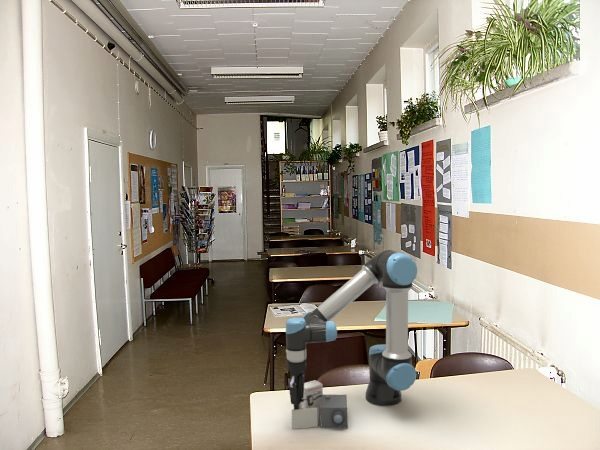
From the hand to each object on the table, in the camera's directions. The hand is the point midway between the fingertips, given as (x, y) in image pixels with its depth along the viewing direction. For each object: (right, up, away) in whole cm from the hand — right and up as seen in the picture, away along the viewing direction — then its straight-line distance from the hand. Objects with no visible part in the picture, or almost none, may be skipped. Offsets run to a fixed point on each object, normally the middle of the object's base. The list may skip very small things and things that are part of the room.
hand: (297, 419), depth 195 cm
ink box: (+6, -2, +11) cm, 13 cm away
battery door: (+3, -2, -2) cm, 4 cm away
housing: (+14, -2, +3) cm, 15 cm away
